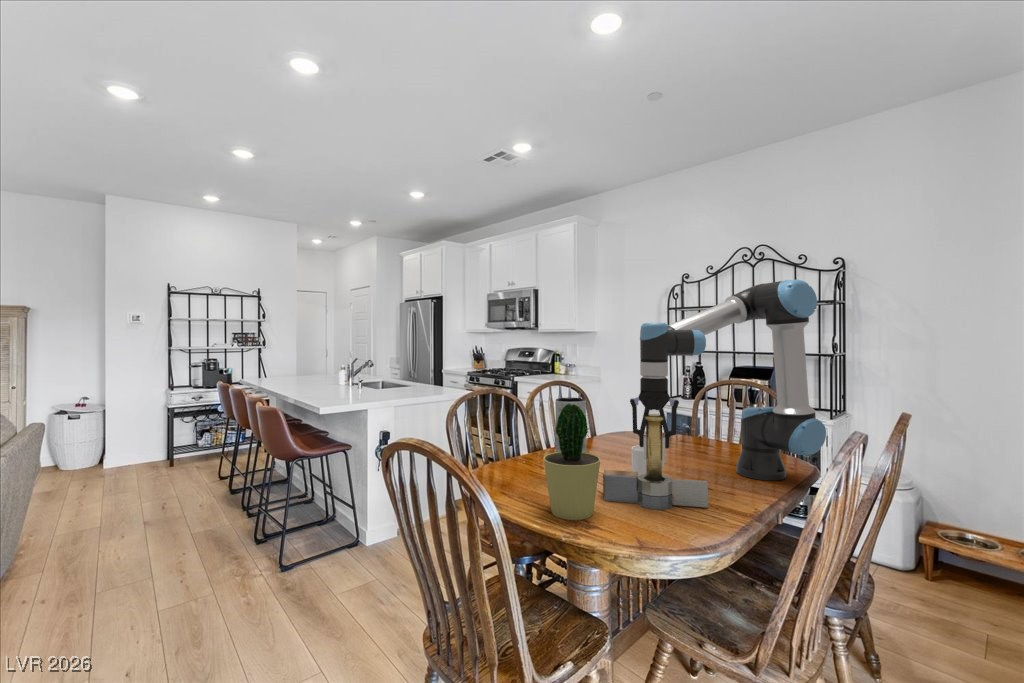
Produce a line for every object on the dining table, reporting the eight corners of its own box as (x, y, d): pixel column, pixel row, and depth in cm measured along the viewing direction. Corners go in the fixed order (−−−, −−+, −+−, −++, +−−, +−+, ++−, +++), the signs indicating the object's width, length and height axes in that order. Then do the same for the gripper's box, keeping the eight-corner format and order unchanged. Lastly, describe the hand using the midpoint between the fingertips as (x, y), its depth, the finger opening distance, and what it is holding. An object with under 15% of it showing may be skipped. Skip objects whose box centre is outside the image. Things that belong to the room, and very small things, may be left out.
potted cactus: (531, 512, 130) (531, 402, 130) (567, 498, 141) (566, 397, 140) (577, 528, 119) (576, 408, 119) (612, 511, 130) (611, 401, 129)
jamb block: (638, 495, 143) (638, 471, 142) (638, 501, 138) (638, 476, 138) (604, 493, 145) (604, 469, 145) (603, 498, 140) (603, 474, 140)
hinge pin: (664, 473, 138) (664, 414, 138) (665, 479, 132) (665, 417, 132) (643, 471, 139) (643, 413, 139) (643, 477, 134) (643, 417, 133)
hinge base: (671, 499, 139) (670, 474, 139) (673, 510, 130) (673, 484, 130) (605, 494, 144) (605, 470, 144) (603, 505, 135) (603, 479, 135)
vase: (563, 475, 165) (563, 396, 164) (591, 479, 160) (590, 398, 159) (550, 482, 156) (550, 400, 156) (579, 487, 151) (578, 402, 151)
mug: (656, 473, 166) (656, 443, 166) (671, 479, 158) (671, 448, 158) (626, 476, 162) (626, 446, 162) (640, 483, 154) (640, 451, 154)
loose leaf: (637, 506, 132) (637, 482, 132) (637, 495, 142) (637, 472, 141) (709, 512, 128) (709, 487, 128) (705, 500, 137) (705, 477, 137)
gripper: (685, 376, 137) (685, 457, 137) (622, 375, 141) (623, 454, 141) (687, 378, 130) (688, 464, 130) (622, 377, 134) (622, 460, 134)
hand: (654, 458), depth 136 cm, fingers closed on hinge pin, 4 cm apart
